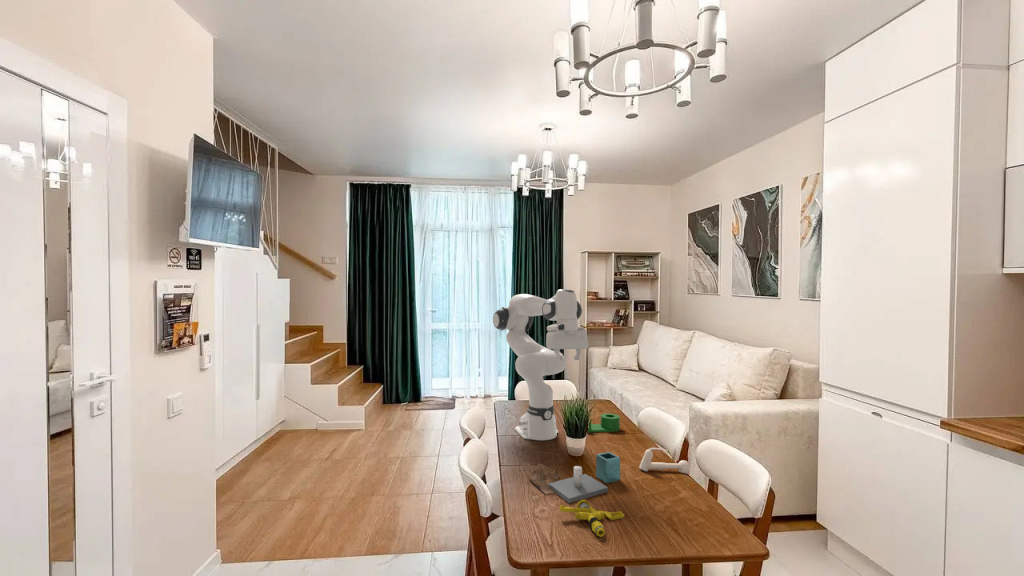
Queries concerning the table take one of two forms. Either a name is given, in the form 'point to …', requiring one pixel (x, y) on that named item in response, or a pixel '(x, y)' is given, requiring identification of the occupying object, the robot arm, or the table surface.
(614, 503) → the table surface
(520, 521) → the table surface
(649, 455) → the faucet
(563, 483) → the post
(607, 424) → the green bracket
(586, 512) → the sprinkler
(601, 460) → the teal square cup
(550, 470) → the wooden fragment
